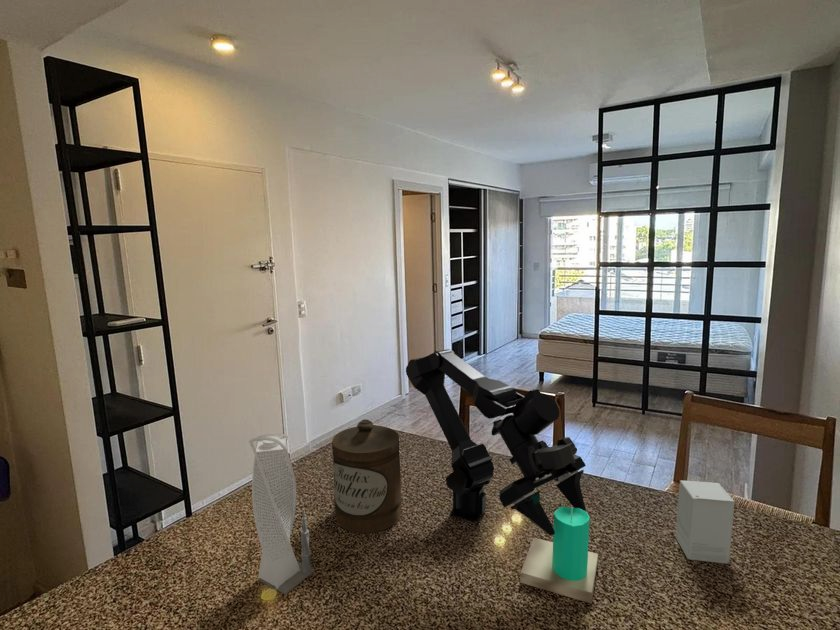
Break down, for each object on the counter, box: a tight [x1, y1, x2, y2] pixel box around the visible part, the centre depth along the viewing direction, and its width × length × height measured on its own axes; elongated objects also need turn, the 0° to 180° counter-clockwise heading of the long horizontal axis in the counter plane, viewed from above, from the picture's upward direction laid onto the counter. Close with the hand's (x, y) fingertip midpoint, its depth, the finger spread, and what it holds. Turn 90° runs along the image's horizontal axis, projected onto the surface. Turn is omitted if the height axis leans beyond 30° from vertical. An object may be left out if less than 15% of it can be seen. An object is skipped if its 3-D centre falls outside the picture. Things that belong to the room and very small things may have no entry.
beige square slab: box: [519, 537, 599, 604], centre depth 87 cm, size 12×11×2 cm
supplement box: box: [675, 480, 736, 565], centre depth 92 cm, size 7×7×13 cm
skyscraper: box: [248, 433, 315, 595], centre depth 85 cm, size 8×8×28 cm
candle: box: [552, 505, 591, 581], centre depth 84 cm, size 6×6×12 cm
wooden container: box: [331, 419, 403, 534], centre depth 105 cm, size 15×15×22 cm
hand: (569, 525), depth 84 cm, fingers open, 9 cm apart
